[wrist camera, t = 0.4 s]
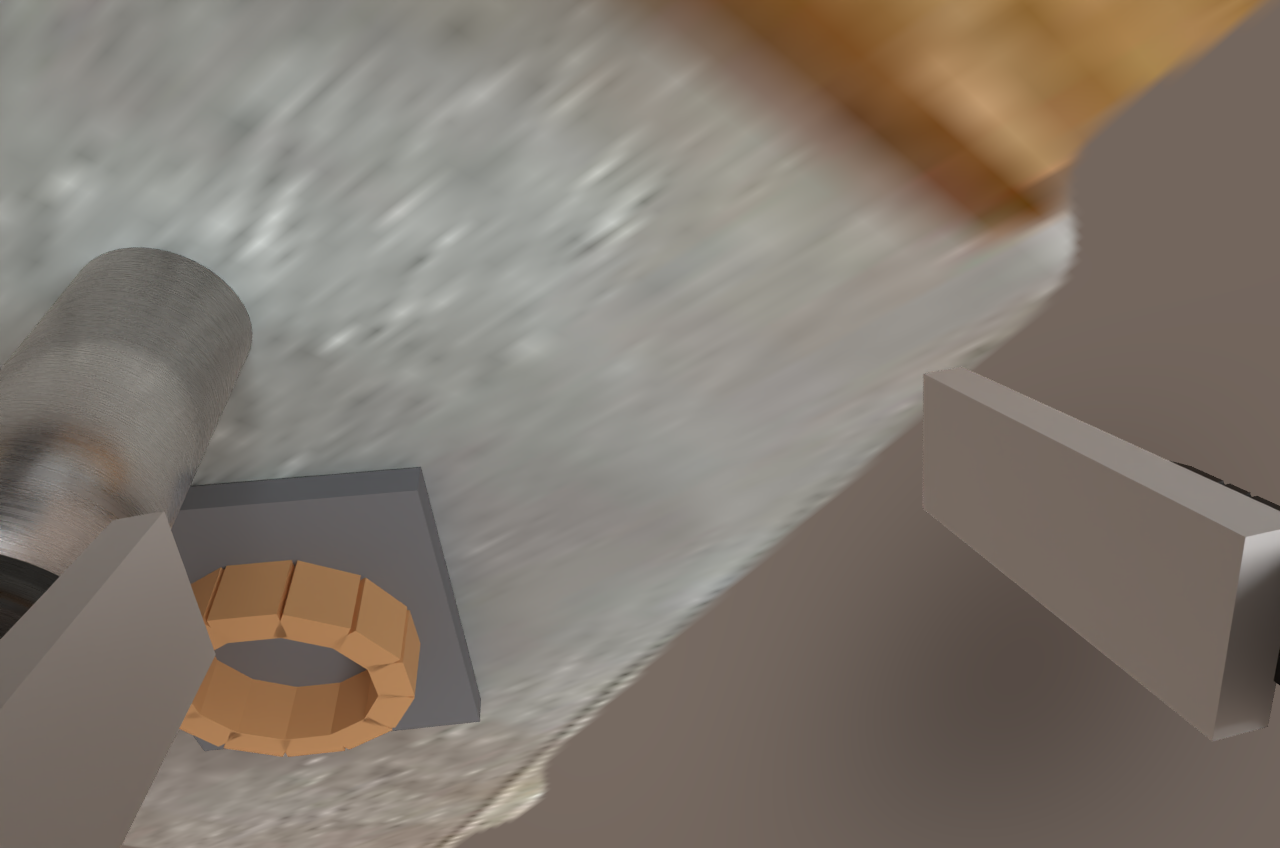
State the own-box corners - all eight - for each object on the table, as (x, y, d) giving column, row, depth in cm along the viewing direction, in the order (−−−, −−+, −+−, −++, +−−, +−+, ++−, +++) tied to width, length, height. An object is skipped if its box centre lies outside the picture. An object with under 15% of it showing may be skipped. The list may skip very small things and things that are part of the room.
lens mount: (53, 497, 29) (3, 579, 26) (420, 467, 30) (410, 542, 27) (211, 727, 40) (188, 803, 37) (480, 699, 40) (477, 771, 38)
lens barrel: (34, 250, 23) (-375, 687, 13) (222, 238, 24) (-21, 653, 13) (113, 392, 27) (-158, 831, 16) (276, 380, 27) (118, 801, 16)
